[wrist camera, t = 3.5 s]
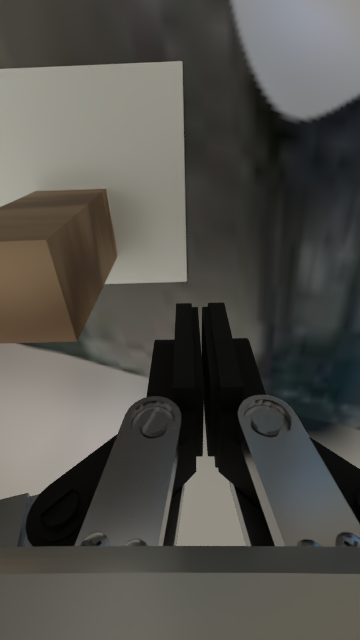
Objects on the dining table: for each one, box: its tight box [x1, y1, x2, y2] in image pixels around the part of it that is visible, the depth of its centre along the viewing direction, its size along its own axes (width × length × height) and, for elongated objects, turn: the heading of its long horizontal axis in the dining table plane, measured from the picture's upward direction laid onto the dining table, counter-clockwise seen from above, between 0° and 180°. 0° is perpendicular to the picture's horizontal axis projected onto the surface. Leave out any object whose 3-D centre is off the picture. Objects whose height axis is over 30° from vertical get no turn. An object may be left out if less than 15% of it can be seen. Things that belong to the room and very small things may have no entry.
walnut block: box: [0, 188, 118, 343], centre depth 17 cm, size 5×5×11 cm
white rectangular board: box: [0, 61, 187, 284], centre depth 21 cm, size 14×24×1 cm, turn 92°
